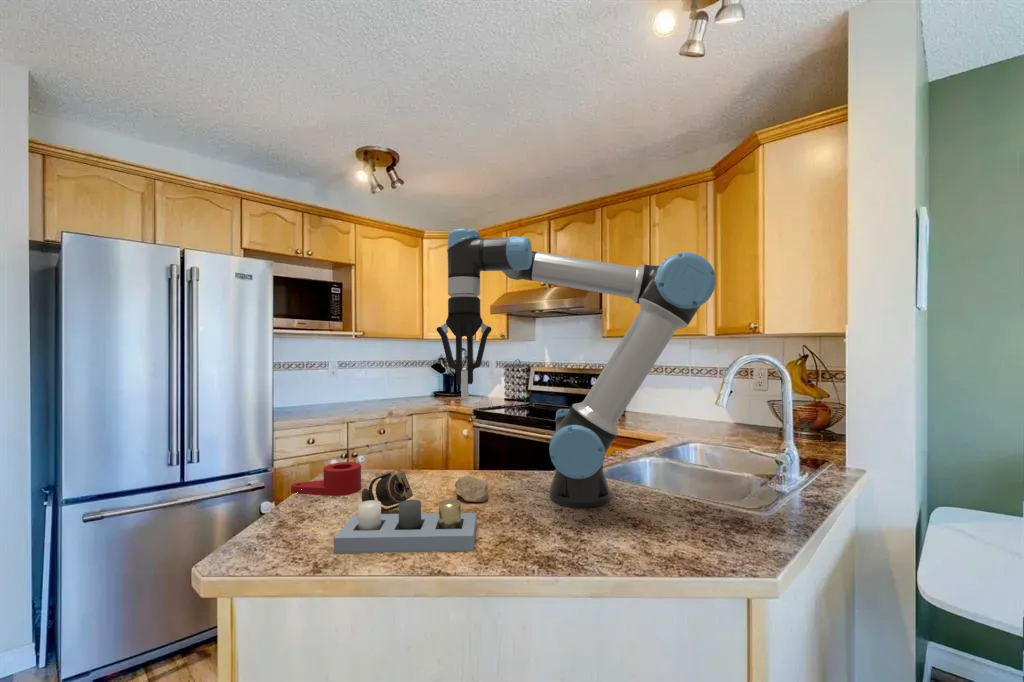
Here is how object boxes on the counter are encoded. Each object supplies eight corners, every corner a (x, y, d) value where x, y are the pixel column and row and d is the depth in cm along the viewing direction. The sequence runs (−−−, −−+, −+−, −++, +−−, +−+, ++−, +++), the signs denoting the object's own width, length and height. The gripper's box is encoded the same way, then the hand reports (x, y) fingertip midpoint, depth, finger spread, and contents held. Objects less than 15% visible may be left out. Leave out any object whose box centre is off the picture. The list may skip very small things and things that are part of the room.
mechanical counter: (401, 522, 103) (401, 476, 103) (348, 518, 105) (348, 473, 105) (415, 510, 110) (414, 468, 110) (365, 507, 112) (364, 465, 112)
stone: (486, 492, 124) (487, 475, 125) (487, 503, 114) (489, 485, 114) (454, 490, 124) (456, 472, 124) (453, 501, 113) (455, 482, 113)
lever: (364, 485, 130) (364, 461, 130) (356, 496, 121) (356, 470, 121) (297, 487, 129) (297, 463, 129) (283, 499, 119) (283, 472, 119)
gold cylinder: (461, 523, 96) (461, 499, 96) (460, 532, 92) (459, 506, 92) (440, 523, 96) (440, 499, 96) (437, 532, 92) (437, 506, 92)
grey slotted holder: (476, 526, 100) (476, 512, 100) (473, 551, 88) (473, 535, 88) (354, 528, 99) (354, 514, 99) (334, 554, 87) (333, 538, 87)
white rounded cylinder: (383, 524, 96) (383, 500, 96) (378, 533, 91) (377, 507, 91) (362, 524, 96) (361, 500, 96) (355, 533, 91) (355, 508, 91)
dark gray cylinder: (422, 523, 96) (422, 499, 96) (419, 532, 92) (418, 507, 92) (401, 524, 96) (401, 499, 96) (396, 533, 91) (396, 507, 91)
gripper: (492, 298, 113) (493, 396, 113) (438, 298, 113) (439, 396, 113) (491, 295, 105) (492, 400, 105) (433, 295, 105) (434, 400, 105)
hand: (464, 398), depth 109 cm, fingers closed
